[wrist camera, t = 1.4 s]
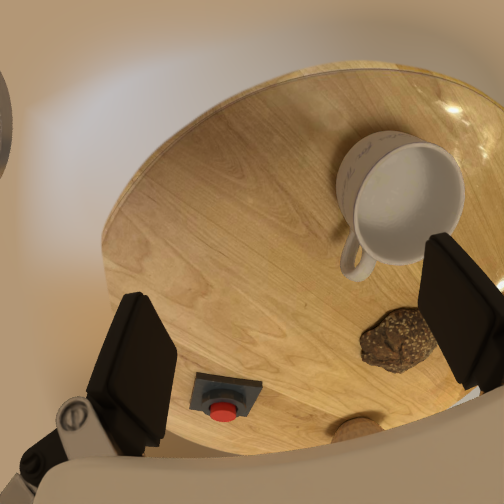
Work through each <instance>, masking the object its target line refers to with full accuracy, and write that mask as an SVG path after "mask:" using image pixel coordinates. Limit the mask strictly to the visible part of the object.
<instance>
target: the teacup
mask: <svg viewBox="0 0 504 504" xmlns="http://www.w3.org/2000/svg"><path fill="white" fill-rule="evenodd" d="M336 195H337V200H338V204H339V207H340V210H341V212H342V214H343V216H344V218H345V220H346V222H347V223H348V225H349V226H350V233H349V235H348V238H347V240H346V243H345V246H344V249H343V252H342V255H341V261H340V268H341V271H342V274H343V275H344V276H345V277H346V278H347V279H349V280H352V281H356V282H360V281H363V280H365V279H366V278H367V277H368V276H369V275H370V274H371V273H372V271H373V269H374V267H375V264H376V261H379V262H382V263H385V264H389V265H408V264H412V263H415V262H418V261H420V260H422V259H424V251H425V243H426V241H427V240H429V237H430V236H431V235H434V234H438V233H443V232H446V233H448V234H449V235H450V236H451V234H452V233H453V231H454V229H455V227H456V226H457V224H458V221H459V219H460V216H461V214H462V210H463V206H464V200H465V186H464V180H463V176H462V173H461V170H460V167H459V166H458V164H457V162H456V161H455V159H454V158H453V156H452V155H451V154H449V153H448V152H447V151H446V150H445V149H443V148H442V147H440V146H438V145H436V144H433V143H430V142H426V141H424V140H422V139H420V138H418V137H415V136H412V135H410V134H407V133H403V132H399V131H380V132H377V133H373V134H371V135H368V136H366V137H364V138H363V139H361V140H360V141H358V142H357V143H356V144H355V145H354V146H353V147H352V148H351V149H350V150H349V152H348V153H347V154H346V156H345V157H344V159H343V161H342V163H341V165H340V168H339V171H338V174H337V179H336ZM359 245H361V246H362V257H361V260H360V262H359V264H358V265H357V267H356V268H355V267H354V263H355V258H356V254H357V251H358V248H359Z"/></svg>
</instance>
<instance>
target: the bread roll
mask: <svg viewBox="0 0 504 504" xmlns="http://www.w3.org/2000/svg"><path fill="white" fill-rule="evenodd" d="M360 345H361V348H362V349H363V350H364V351H363V353H362V355H361V358H362V361H363V362H367V364H369V365H371V366H378V367H382V368H384V369H385V370H387V371H390V372H392V373H394V374H395V373H399V374H401V373H403V372H405V371H407V370H408V369H409V368H412V367H414V366H415V365H417V364H418V363H419V362H421V361H424V360H425V359H426V358H427V357H429V355H430V354H431V353H432V352H433V350H434V348H436V347H437V345H438V343H437V341H436V340H435V338H434V336H433V334H432V332H431V330H430V329H429V327H428V325H427V323H426V321H425V320H424V318H423V316H422V314H421V313H420V311H419V309H416V310H405V309H399V310H396V311H393V312H392V313H391V314H389V315H388V316H387V317H386V318H385V319H384V320H383V321H382V322H381V323H380V325H379V326H378V327H376V328H375V329H373V330H370V331H367V332H366V333H364V334H363V335H362V336H361V339H360Z"/></svg>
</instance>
